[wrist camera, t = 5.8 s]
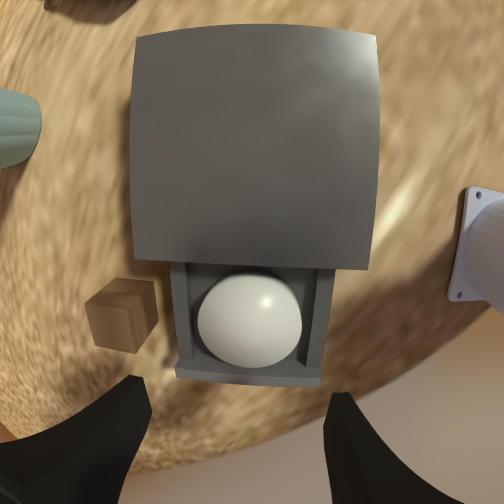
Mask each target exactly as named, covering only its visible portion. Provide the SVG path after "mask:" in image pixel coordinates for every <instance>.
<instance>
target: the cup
mask: <svg viewBox="0 0 504 504" xmlns="http://www.w3.org/2000/svg"><path fill="white" fill-rule="evenodd" d="M40 129H41V112H40V108H39V105H38V103H37V102H36V100H34V99H33V98H31V97H30V96H27V95H24V94H20V93H17V92H14V91H10V90H7V89H3V88H0V169H3V168H6V167H9V166H12V165H16V164H19V163H22V162H23V161H25V160H26V159H27V158H28V157H29V156H30V155H31V153H32V152H33V150H34V148H35V146H36V144H37V141H38V138H39V134H40Z"/></svg>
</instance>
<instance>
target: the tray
mask: <svg viewBox="0 0 504 504" xmlns="http://www.w3.org/2000/svg"><path fill="white" fill-rule="evenodd" d="M169 267H170V280H171V291H172V301H173V311H174V320H175V329H176V337H177V345H178V352H179V360H178V362H177V364H176V366H175V371H176V377H179V378H186V379H193V380H201V381H209V382H219V383H229V384H241V385H255V386H274V387H320V384H321V380H322V375H321V370H320V365H321V360H322V355H323V350H324V344H325V338H326V332H327V326H328V320H329V314H330V307H331V300H332V293H333V286H334V278H335V270H336V269H320V268H296V267H272V266H251V265H230V264H210V263H191V262H173V261H169ZM240 269H259V270H264V271H267V272H270V273H272V274H274V275H276V276H278V277H280V278H281V279H283V280H284V281H285V282H286V283H287V284H288V285H289V286H290V287H291V288H292V290H293V291H294V293H295V295H296V297H297V299H298V303H299V308H300V314H301V322H302V331H301V336H300V339H299V341H298V343H297V345H296V347H295V348H294V349H293V351H292V352H291V353H290V354H289V355H288V356H286V357H285V358H284V359H282V360H281V361H279V362H277V363H275V364H272V365H269V366H265V367H259V368H245V367H239V366H235V365H232V364H229V363H227V362H225V361H223V360H221V359H220V358H218V357H217V356H215V355H214V354H213V353H212V352H211V351H210V350H209V349H208V348H207V346H206V345H205V344H204V342H203V340H202V338H201V336H200V333H199V329H198V314H199V310H200V307H201V305H202V303H203V301H204V299H205V297H206V295H207V293H208V291H209V289H210V288H211V286H212V285H213V284H214V283H215V282H216V281H217V280H218V279H219V278H221V277H222V276H224V275H226V274H228V273H230V272H232V271H236V270H240Z"/></svg>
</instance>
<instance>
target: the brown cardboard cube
mask: <svg viewBox="0 0 504 504" xmlns="http://www.w3.org/2000/svg"><path fill="white" fill-rule="evenodd" d="M84 304H85V308H86V312H87V317H88V321H89V325H90V329H91V332H92V336H93V340H94V343H95V346H99V347H103V348H108V349H113V350H118V351H123V352H128V353H134V354H136V353H137V352H138V350H139V349H140V347H141V346H142V344H143V343H144V341H145V340H146V339H147V337H148V336H149V334H150V333H151V331H152V330H153V328H154V327H155V325H156V324H157V323H158V313H157V306H156V298H155V289H154V281H142V280H131V279H120V278H115V279H113V280H112V281H111V282H110V283H108V284H107V285H106V286H105V287H104V288H102V289H101V290H100V291H99V292H97V293H96V294H95V295H94V296H93V297H91V298H90V299H89V300H88V301H87V302H85V303H84Z"/></svg>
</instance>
